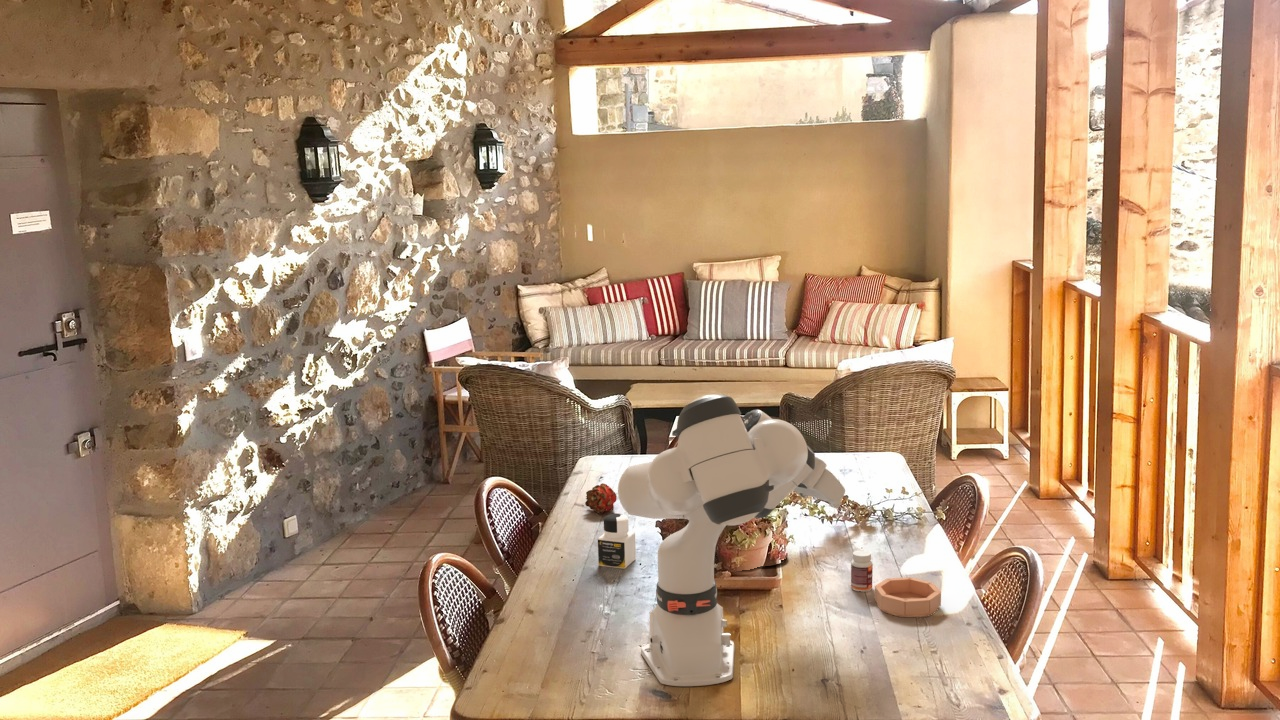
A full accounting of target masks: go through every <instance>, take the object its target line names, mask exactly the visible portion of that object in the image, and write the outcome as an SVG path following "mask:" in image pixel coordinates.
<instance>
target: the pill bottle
mask: <svg viewBox="0 0 1280 720" xmlns="http://www.w3.org/2000/svg"><path fill="white" fill-rule="evenodd" d="M852 552H853V553H852V559H851V561H850V562H851V563H850V564H851V565H850V588H851V589H852V590H853V591H856V592H859V591H861V592H860V593H865V591H867V592H871V590H872V589H873V568H874V567H873V565H874V564H873V561H872V553H871V552H870V551H868V550H854V551H852Z"/></svg>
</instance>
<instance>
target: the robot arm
mask: <svg viewBox="0 0 1280 720" xmlns="http://www.w3.org/2000/svg"><path fill="white" fill-rule="evenodd" d="M741 415H742V412H741V410H740V408H739V406H738V404H737V403H736V401H735V400H734V398H733V397H732V396H729V395H727V394H713V393H712V394H706V395H702V396H699V397H697V398H695V399H694V400H692V401H691V402H689V403H688V404H686V405H685V406H684V407H683V409H681V411H680V414H679V415H678V418H677V422H676V423H677V424H676V428H675V429H674V430H673V431H672V433H671V436H672V437H676V441H677V445H676V446H675V447H671V448H668V449H666V450H664V451H661V452H660V453H658V454H657V455H656V457H654V459H652V461H650V462H646V463H639V464H635V465H631V466H628V467H627V468H626V469H625V470H624V471H623V473H622V474H621V476H620V479H619V481H618V486H617V496H618V497H617V498H618V500H619V503H620V505H621V507H622V508H623V510H625V512H626V513H627V514H628V515H631V516H634V517H641V518H647V519H652V520H653V519H654V520H655V519H661V520H662V519H668V520H669V519H671V520H676V519H677V520H678V519H681V520H682V519H685V520H687V521H688V522H687V525H686V526H684V527H683V528H681V529H679V530H677V531H676V532H673V533H671V534H670V535H668V536H666V537H665V538H664V539H663V540H662V541H661V543H660V544H659V547H658V549H657V577H658V581H657V583H656V589H655V595H656V605H655V606H654V608H653V609H651V611H650V612H649V643H647V644H645V645H643V646H641V648H640V654H641V656H642V658H644V660H645V662H646V663H647V664H648V665H647V666H649V668H650V670H651V671H652V672H653V674H654V675H655V677H656V679H657V680H658V682H659V683H660V684H662V685H667V686H673V687H699V686H702V687H703V686H710V685H711V686H712V685H717V684H721V683H725V682H727V681H729V680H732V679H733V677H734V663H735V643H734V640H731V633H729V632H724V628H727V626H728V619H724V608H723V606H721V605H720V604H719V603H718V588H717V583H716V581H715V559H716V557H715V555H716V549H717V544H718V541H719V538H720V536H721V534H722V533H723V530H724V529H725V528H726V526H738V525H739V526H740V525H743V524H745V523H748V522H749V521H751V520H753V519H754V518H755V519H764V518H768V516H769V515H770V514H771V513H772V512H773V511H774V510H775V509H776V507H777V506H778V505H779V504H780V503H781V502H783V500H785V499H786V498H787V497H788V496H789V495H790V493H792V492H794V493H796V494H798V495H799V497H801V498H804V499H808V498H809V497H812V498H815V499H818V500H821V501H824V502H826V503H827V502H828V505H829V506H830V507H831V508H833V509H839V508H840V506H841V505H842V499H843V497H844V496H845V495H846V489H845V487H844V486H843V484H842V482H840V480H839V479H838V478H837V477H836V476H835V475H834V473H832V472H831V470H829V469H827V463H826V462H825V461H824V460H823V459H820V458H818V457H817V456H816V454H815V452H814V451H813V449H812V447H810V445H809V444H807V442H806V440H805V438H804V436H803V434H802V433H801V431H800V430H799V429H798V428H797V427H796V426H794V425H793V424H792V423H790V422H787V421H786V420H782V419H778V418H777V419H776V418H772V417H771V416H769V415H768V414H767V413H765V412H764V411H762V410H761V409H753V410H750V411H748V412H746V413H745V415H743V416H742V417H741Z"/></svg>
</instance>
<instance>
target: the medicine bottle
mask: <svg viewBox="0 0 1280 720" xmlns="http://www.w3.org/2000/svg"><path fill="white" fill-rule="evenodd" d="M636 550H637V549H636V532H635V531H630V530H629V517H628V516H627V515H626V514H623V513H610V514H608V515H605V516H604V517H603V534H602V535H600V536H599V537H598V538H597V555H598V556H597V558H598V561H597V562H598V566H599V567H606V568H615V569H623V570H625V569H626V568H627V567H629V566H630V565H631V564H632V563H633V562H634V561H635V560H636V559H637V555H636V554H637V553H636Z"/></svg>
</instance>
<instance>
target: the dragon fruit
mask: <svg viewBox="0 0 1280 720" xmlns="http://www.w3.org/2000/svg"><path fill="white" fill-rule="evenodd" d="M585 495H586V496H585V497H586V498H585V502H584V505H585V506H586V507H588V508H589V509H590V510H593V511H594V512H595V513H597V514H601V515H602V514H603V513H605V511H607V512H609V511H611V512H612V511H613V510H614V508H615V506H614V504H615V503H616V502H617V499H618V497H617V496H618V495H617V494H616V492H615V491H614V490H613V488H611V487H610V486H609V485H607V484H606V483H604V482H603V483H600V485H599V484H597V485H595V486H593V487H592V488H591V489H590V490H587V491H586V494H585Z"/></svg>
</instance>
